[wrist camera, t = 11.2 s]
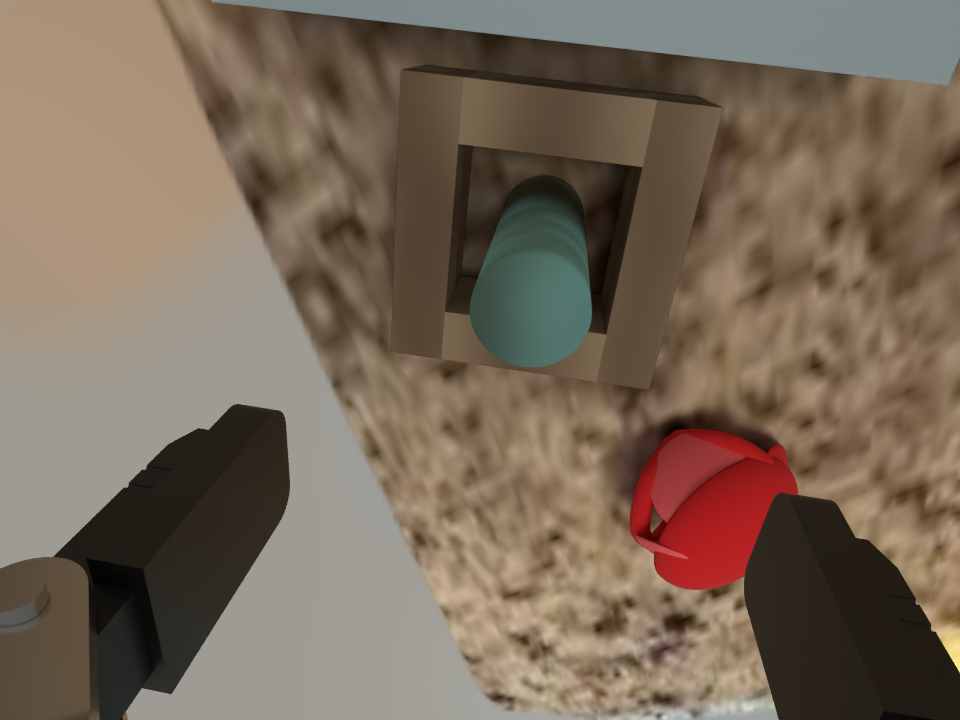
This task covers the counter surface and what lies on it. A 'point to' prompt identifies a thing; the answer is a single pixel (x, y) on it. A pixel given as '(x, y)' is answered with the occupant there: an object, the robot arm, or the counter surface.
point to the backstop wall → (703, 28)
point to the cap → (706, 504)
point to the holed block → (556, 132)
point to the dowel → (535, 277)
